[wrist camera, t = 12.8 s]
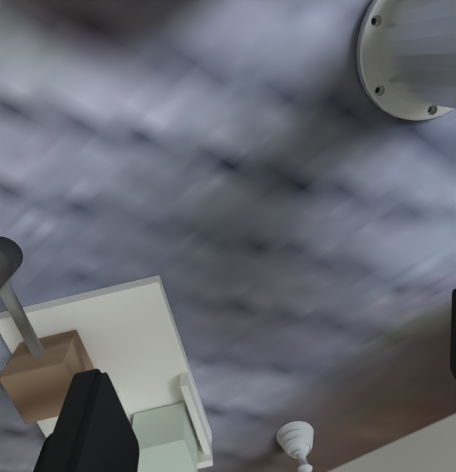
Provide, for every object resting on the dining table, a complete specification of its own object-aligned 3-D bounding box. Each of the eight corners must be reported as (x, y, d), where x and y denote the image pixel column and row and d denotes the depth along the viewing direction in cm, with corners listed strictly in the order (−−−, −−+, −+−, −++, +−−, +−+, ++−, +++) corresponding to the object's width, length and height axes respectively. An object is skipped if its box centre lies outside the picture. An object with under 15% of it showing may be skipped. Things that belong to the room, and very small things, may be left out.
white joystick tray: (-1, 312, 41) (-34, 356, 34) (159, 274, 41) (154, 312, 35) (83, 463, 50) (68, 519, 44) (211, 432, 51) (214, 484, 44)
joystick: (-36, 241, 35) (-75, 271, 30) (28, 226, 36) (1, 253, 30) (42, 385, 43) (23, 430, 38) (96, 373, 43) (84, 415, 38)
